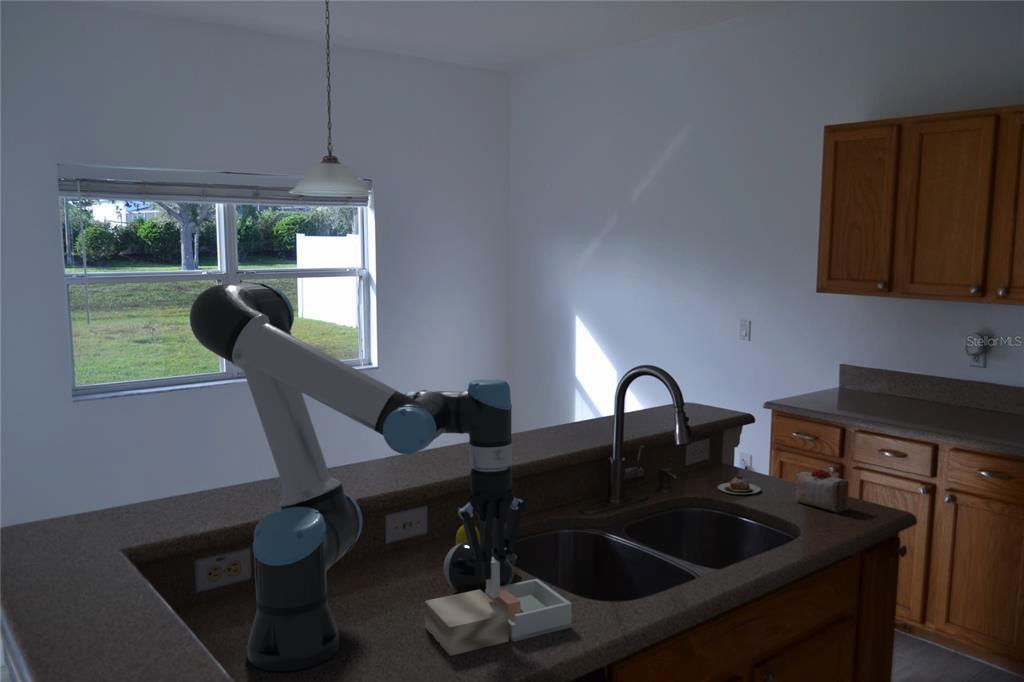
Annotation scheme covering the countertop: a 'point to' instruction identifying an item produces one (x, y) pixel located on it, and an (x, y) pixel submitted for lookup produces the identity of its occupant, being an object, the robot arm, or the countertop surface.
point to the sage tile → (529, 603)
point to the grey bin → (538, 611)
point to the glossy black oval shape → (469, 570)
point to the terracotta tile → (508, 603)
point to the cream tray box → (466, 622)
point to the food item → (822, 490)
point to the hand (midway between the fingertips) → (493, 594)
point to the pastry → (739, 486)
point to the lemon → (464, 535)
